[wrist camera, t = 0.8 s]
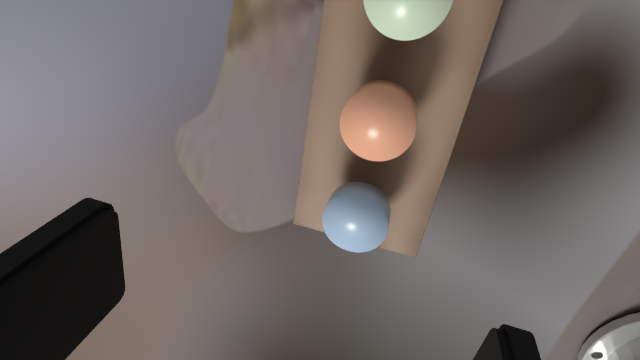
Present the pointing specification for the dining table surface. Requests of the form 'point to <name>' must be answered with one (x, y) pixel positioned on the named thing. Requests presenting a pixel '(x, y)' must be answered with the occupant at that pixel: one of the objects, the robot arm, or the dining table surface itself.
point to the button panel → (424, 86)
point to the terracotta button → (379, 121)
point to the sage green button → (406, 17)
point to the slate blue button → (357, 217)
